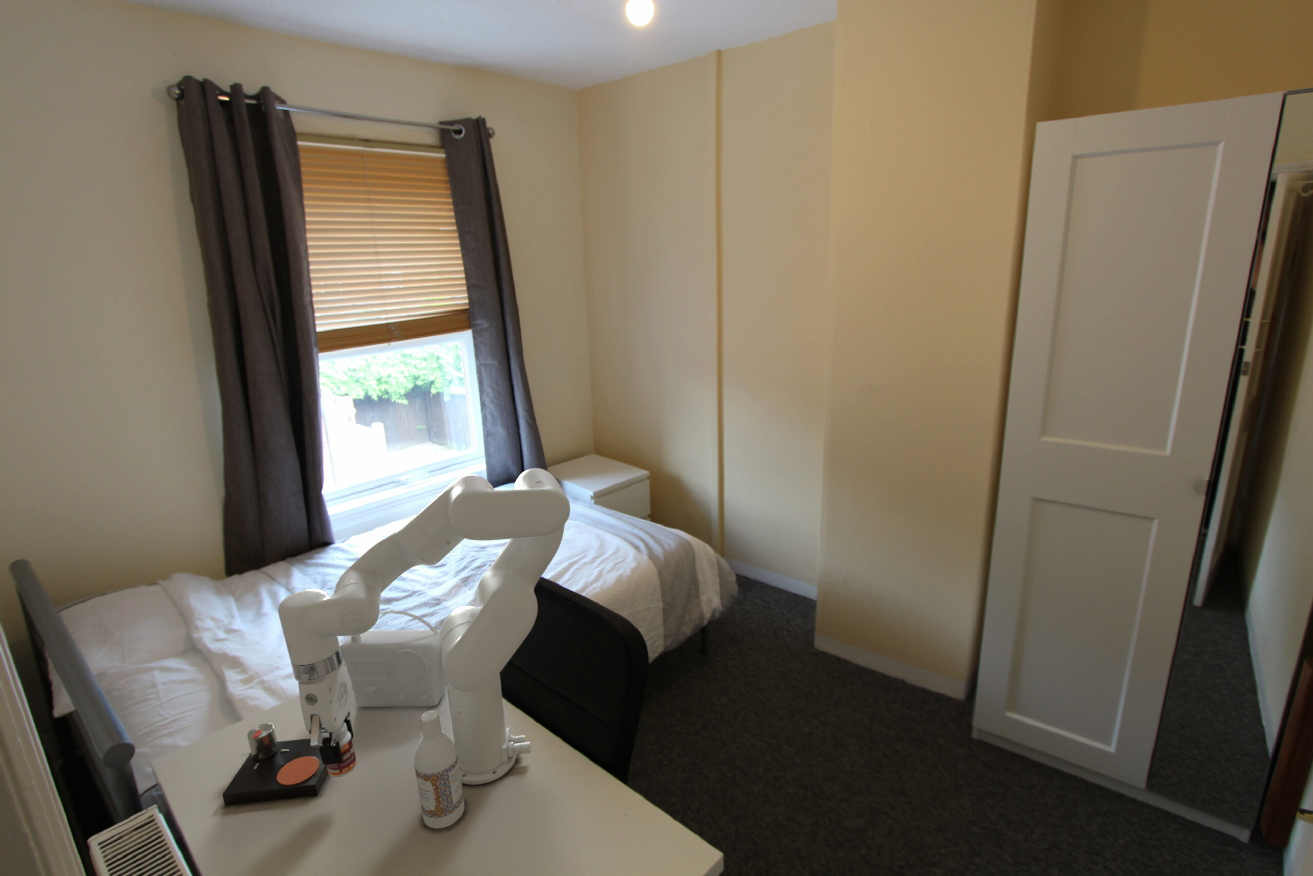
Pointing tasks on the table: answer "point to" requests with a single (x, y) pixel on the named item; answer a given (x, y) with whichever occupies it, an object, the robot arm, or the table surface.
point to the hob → (274, 776)
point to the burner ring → (298, 770)
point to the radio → (395, 666)
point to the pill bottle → (343, 753)
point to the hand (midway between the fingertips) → (338, 750)
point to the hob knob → (262, 741)
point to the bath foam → (438, 774)
